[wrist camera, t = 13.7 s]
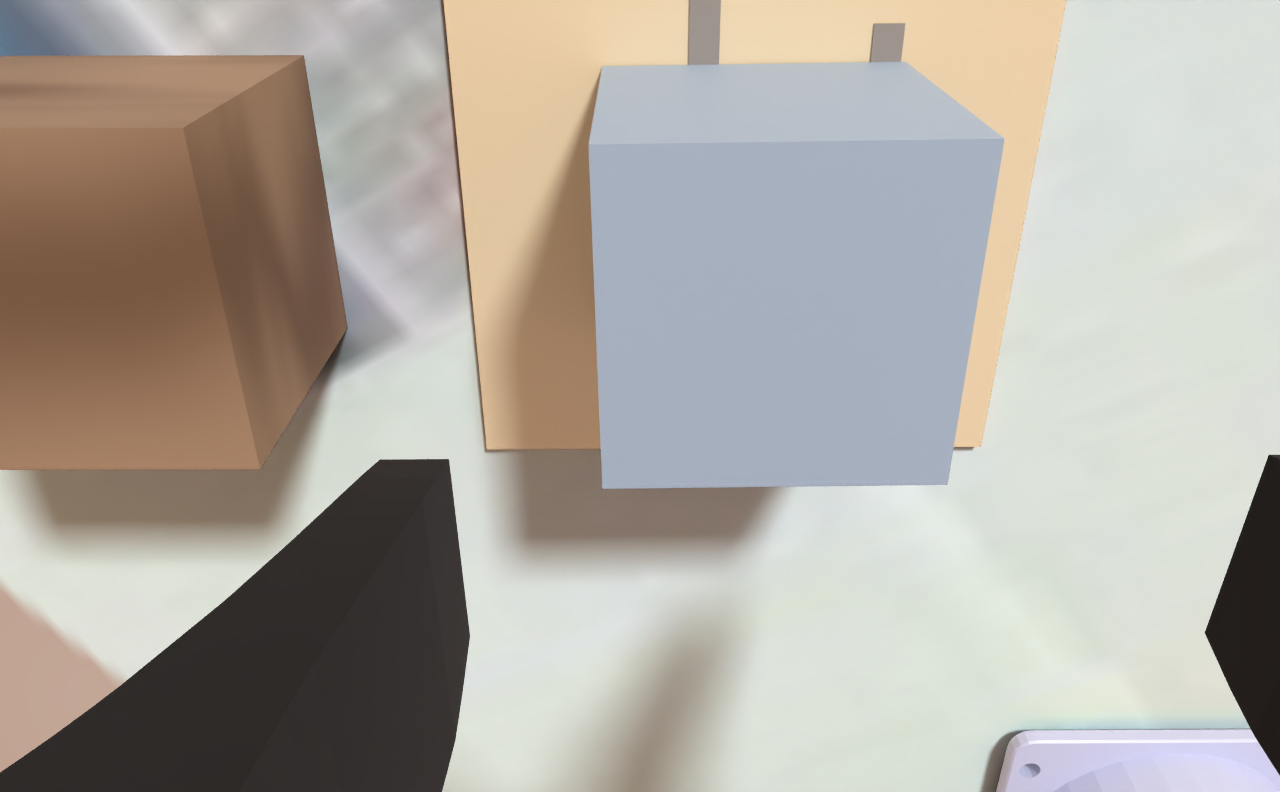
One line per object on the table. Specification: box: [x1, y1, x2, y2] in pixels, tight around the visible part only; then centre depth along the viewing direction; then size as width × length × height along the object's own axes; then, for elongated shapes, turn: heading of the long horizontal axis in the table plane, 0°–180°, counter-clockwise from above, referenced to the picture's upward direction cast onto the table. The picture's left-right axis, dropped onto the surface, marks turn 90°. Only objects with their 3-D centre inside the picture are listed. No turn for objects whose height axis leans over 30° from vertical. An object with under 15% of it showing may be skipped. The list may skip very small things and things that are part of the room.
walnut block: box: [0, 55, 347, 470], centre depth 15 cm, size 5×5×5 cm
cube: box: [589, 62, 1005, 489], centre depth 15 cm, size 5×5×5 cm
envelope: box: [444, 0, 1066, 449], centre depth 16 cm, size 14×10×1 cm
